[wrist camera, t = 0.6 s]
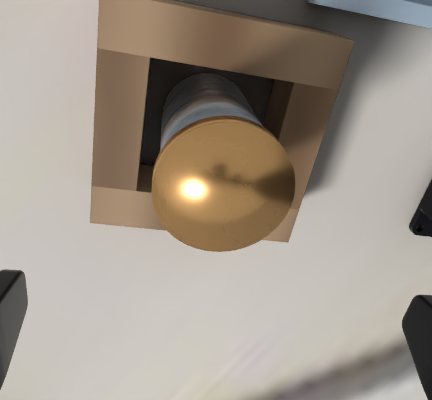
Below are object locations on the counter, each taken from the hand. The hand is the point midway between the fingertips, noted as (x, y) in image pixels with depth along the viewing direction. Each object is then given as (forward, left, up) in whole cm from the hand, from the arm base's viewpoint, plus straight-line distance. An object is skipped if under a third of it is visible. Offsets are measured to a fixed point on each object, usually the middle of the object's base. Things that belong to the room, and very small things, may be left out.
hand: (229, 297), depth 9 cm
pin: (0, 0, -13) cm, 13 cm away
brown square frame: (0, 0, -13) cm, 13 cm away
